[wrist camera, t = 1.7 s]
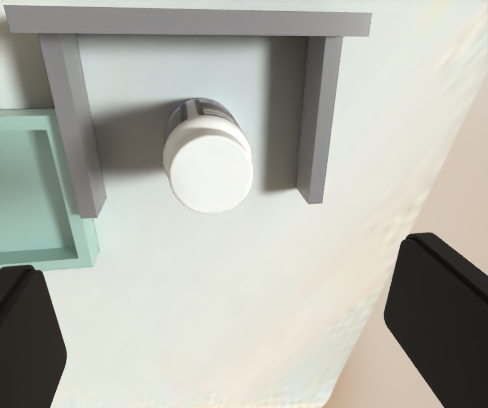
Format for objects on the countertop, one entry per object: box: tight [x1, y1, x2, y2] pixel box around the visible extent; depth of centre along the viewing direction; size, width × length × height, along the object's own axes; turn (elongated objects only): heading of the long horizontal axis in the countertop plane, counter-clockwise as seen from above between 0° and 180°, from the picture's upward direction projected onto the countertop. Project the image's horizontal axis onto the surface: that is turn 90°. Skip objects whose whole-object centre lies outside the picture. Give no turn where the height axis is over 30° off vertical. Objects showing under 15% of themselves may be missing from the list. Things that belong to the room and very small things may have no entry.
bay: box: [3, 5, 372, 219], centre depth 20 cm, size 12×16×6 cm
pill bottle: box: [163, 98, 253, 214], centre depth 20 cm, size 5×5×8 cm
